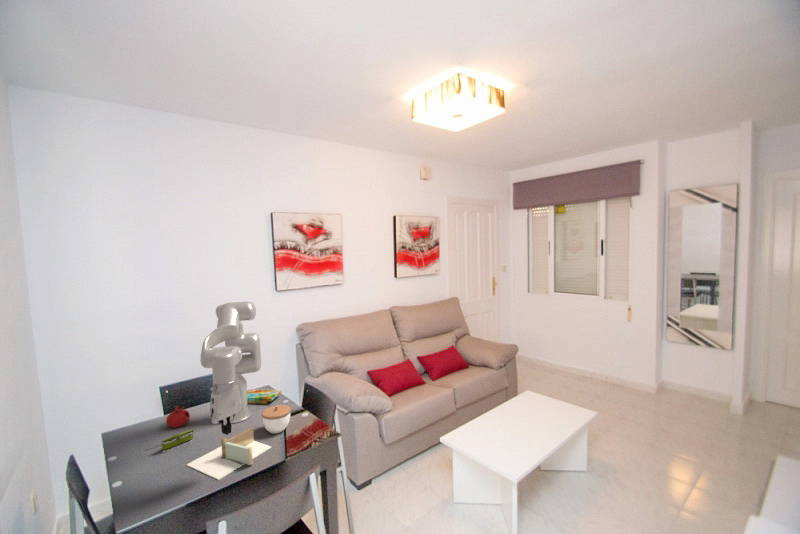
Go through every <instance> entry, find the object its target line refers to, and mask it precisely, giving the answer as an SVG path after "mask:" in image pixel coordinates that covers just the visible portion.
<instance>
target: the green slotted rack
mask: <svg viewBox="0 0 800 534" xmlns="http://www.w3.org/2000/svg"><path fill="white" fill-rule="evenodd" d="M193 432H194V429H193V428H191V429H189V430H187V431H184V432H181V433H178V434H175V435H172V436H170V437H169V438H168V437H167V438H165V439H163V440H161V444H159V445H157V447H160V446H161V453H162V452H164V453H167V452H166V451H168V452H170V451H172V449H173V450H174V448H175V449H178V448H180V447H183V446H185V444H186V445H188V444H190V443H191V442H193V439H194V436H193V434H194V433H193ZM189 442H190V443H189ZM187 443H188V444H187ZM182 445H183V446H182ZM179 446H180V447H179ZM177 447H178V448H177ZM155 448H156V446H154V447H151V448H149V450H152V449H155ZM169 450H170V451H169ZM146 451H148V449H145V450H144V452H146Z"/></svg>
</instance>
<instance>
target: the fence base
mask: <svg viewBox="0 0 800 534" xmlns="http://www.w3.org/2000/svg"><path fill="white" fill-rule="evenodd" d="M254 441H255V439H254V427H249V428H248V429H245V430H243V431H242V432H240V433H238V434H236V435H234V436H233V437H230V438H229V439H227V437H222V438H221V442H220V443H221V446H222V458H226V449H225V443H227V442H231V443H234V444H238V445H242V446H247V445H249V444H250V443H252V442H254Z"/></svg>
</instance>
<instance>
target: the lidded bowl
mask: <svg viewBox="0 0 800 534" xmlns="http://www.w3.org/2000/svg"><path fill="white" fill-rule="evenodd" d="M261 418H262V419H261V420H262V424H263V427H264V428H265V430H266V431H268V432H269V434H271V435H272V434H279V433H283V432H284V431H285V430H286V428H287V427H288V425H289V424H290V422H291V421H290V420H291V407H290V406H288V405H285V404H279V405H278V404H276V405H271V406H269V407H267V408H264V410H262V411H261Z"/></svg>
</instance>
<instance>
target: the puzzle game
mask: <svg viewBox="0 0 800 534" xmlns="http://www.w3.org/2000/svg"><path fill="white" fill-rule="evenodd" d="M282 392H283V391H282V390H279V389H278V390H276V389H260V388H259V389H257V388H256V389H253V388H251V389H250V388H249V389H247V402H248V404H257V405H260V404H263V405H267V404H268V403H269V402H272V401H273V400H275V399H276V398H277V397H278V396H279V395H280V394H282Z"/></svg>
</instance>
